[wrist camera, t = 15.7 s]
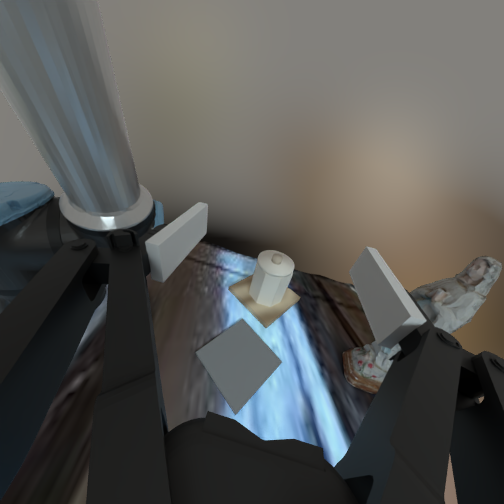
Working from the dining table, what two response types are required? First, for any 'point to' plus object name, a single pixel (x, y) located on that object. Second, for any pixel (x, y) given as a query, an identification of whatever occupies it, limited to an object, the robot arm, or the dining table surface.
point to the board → (261, 311)
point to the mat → (238, 363)
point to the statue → (438, 311)
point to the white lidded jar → (271, 277)
